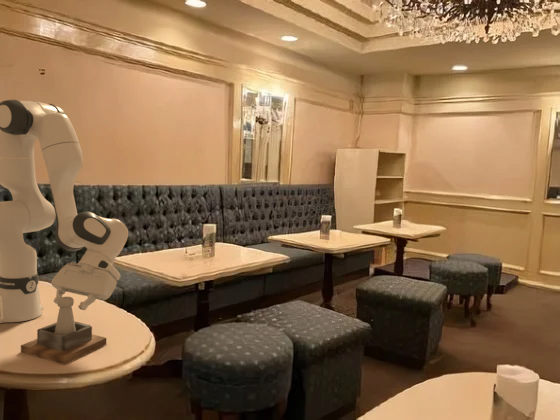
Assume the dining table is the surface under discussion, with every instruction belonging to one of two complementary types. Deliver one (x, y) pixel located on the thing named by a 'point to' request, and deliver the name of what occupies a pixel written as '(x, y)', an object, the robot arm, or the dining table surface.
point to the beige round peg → (65, 316)
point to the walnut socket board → (63, 343)
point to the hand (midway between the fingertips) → (68, 306)
